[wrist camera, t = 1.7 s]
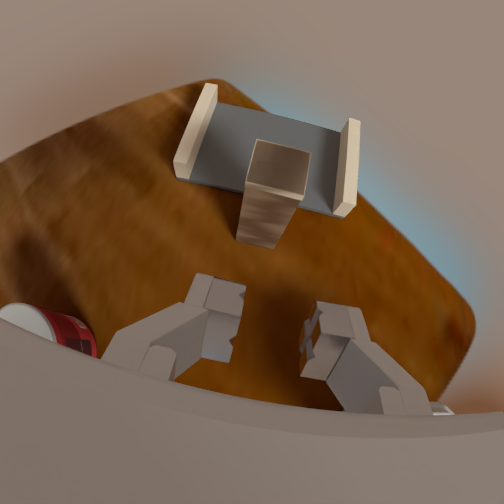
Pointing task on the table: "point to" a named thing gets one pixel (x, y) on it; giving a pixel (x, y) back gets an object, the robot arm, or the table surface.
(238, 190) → the rubber mat with end rails
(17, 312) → the canned food
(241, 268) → the table surface
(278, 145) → the walnut block
